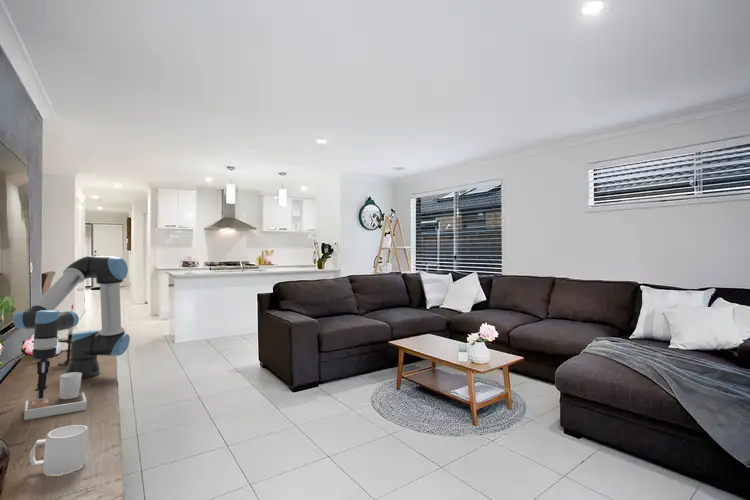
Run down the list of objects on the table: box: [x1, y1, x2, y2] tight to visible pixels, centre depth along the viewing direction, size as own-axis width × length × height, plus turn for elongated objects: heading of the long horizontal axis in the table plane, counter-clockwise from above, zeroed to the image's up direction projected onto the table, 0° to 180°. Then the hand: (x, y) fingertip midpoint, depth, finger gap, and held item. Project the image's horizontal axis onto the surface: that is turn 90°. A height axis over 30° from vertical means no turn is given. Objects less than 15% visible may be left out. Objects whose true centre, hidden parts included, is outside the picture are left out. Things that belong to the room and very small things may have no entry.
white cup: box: [59, 372, 82, 400], centre depth 175 cm, size 8×8×10 cm
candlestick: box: [57, 303, 75, 366], centre depth 228 cm, size 11×11×35 cm
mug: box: [28, 424, 89, 475], centre depth 117 cm, size 14×10×11 cm
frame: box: [23, 392, 88, 421], centre depth 160 cm, size 13×19×4 cm
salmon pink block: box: [31, 398, 49, 409], centre depth 157 cm, size 5×5×4 cm
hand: (39, 405), depth 160 cm, fingers closed
